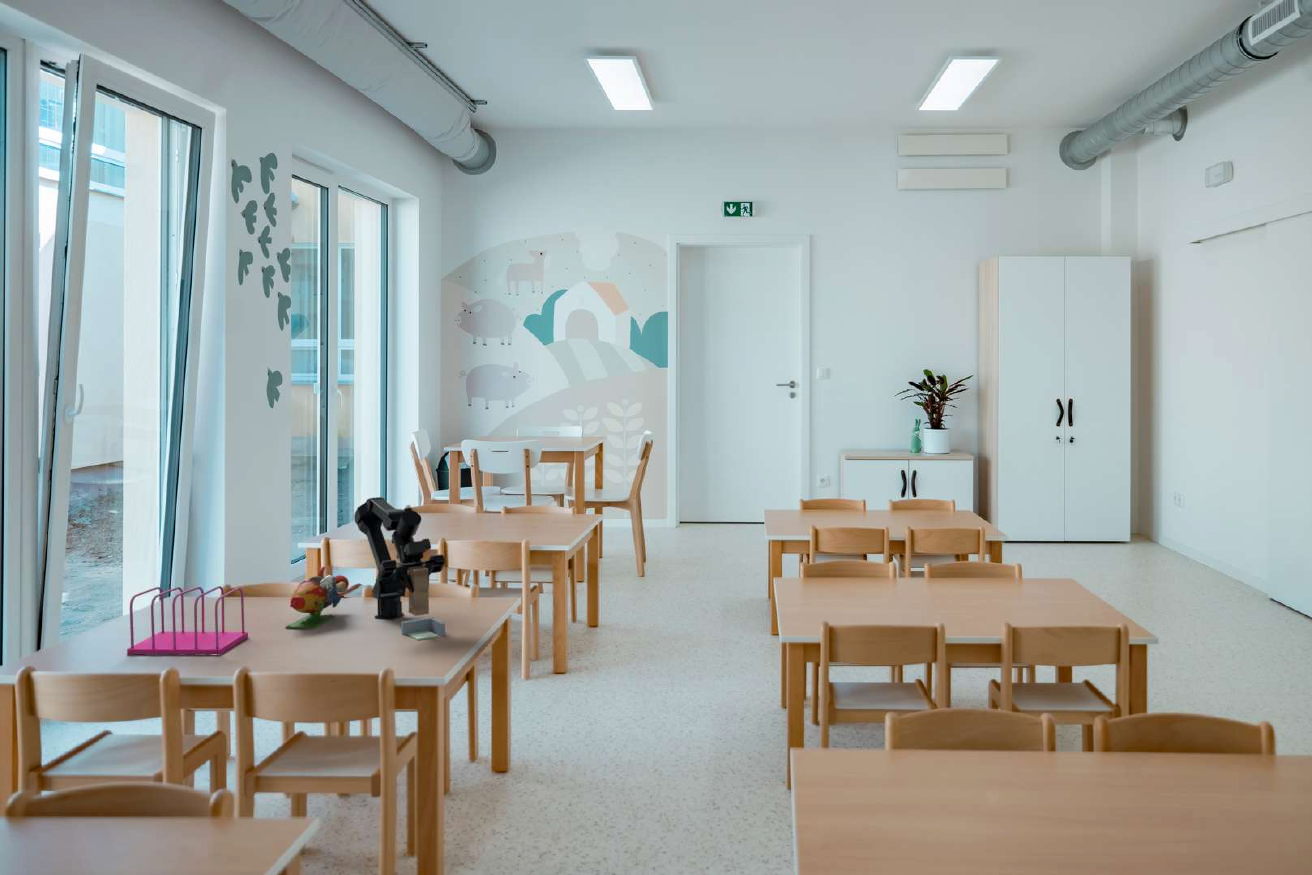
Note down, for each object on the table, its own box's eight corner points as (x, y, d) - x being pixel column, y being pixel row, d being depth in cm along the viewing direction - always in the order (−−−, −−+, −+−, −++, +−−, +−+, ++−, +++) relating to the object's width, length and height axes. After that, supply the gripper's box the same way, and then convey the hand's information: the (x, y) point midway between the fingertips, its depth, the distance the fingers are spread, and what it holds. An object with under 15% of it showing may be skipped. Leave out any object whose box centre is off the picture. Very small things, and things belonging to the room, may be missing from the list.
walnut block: (408, 612, 278) (408, 567, 277) (422, 610, 280) (421, 565, 279) (415, 615, 274) (414, 570, 273) (428, 613, 276) (428, 568, 275)
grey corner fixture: (401, 633, 277) (401, 621, 277) (433, 628, 283) (433, 616, 282) (413, 640, 270) (412, 628, 270) (445, 635, 275) (445, 623, 275)
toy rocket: (271, 632, 280) (270, 579, 279) (313, 611, 304) (311, 563, 303) (317, 633, 278) (316, 581, 277) (356, 612, 302) (354, 564, 301)
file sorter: (161, 637, 274) (159, 583, 273) (248, 638, 274) (247, 583, 273) (126, 655, 257) (124, 597, 256) (219, 655, 256) (217, 597, 255)
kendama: (330, 607, 315) (356, 587, 333) (325, 588, 314) (351, 570, 332) (309, 610, 317) (336, 590, 334) (304, 592, 316) (331, 573, 333)
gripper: (380, 533, 273) (395, 578, 265) (443, 527, 284) (458, 570, 276) (371, 556, 280) (385, 601, 272) (433, 549, 291) (448, 592, 283)
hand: (420, 590), depth 275 cm, fingers closed on walnut block, 4 cm apart
